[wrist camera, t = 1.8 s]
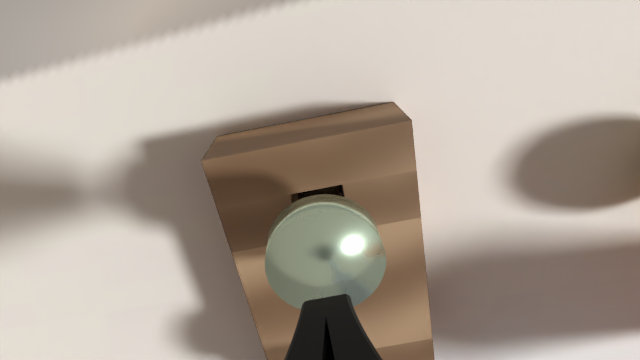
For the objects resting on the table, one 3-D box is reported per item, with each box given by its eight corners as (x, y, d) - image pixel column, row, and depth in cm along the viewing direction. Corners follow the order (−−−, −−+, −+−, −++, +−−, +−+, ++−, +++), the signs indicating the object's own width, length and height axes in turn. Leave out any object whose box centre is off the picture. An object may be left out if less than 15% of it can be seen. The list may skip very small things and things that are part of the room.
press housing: (421, 350, 26) (437, 397, 23) (289, 373, 27) (288, 422, 23) (393, 102, 20) (411, 120, 16) (217, 136, 20) (201, 160, 17)
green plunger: (372, 238, 19) (392, 301, 15) (284, 255, 19) (279, 322, 15) (359, 155, 17) (378, 201, 13) (262, 174, 18) (251, 224, 13)
